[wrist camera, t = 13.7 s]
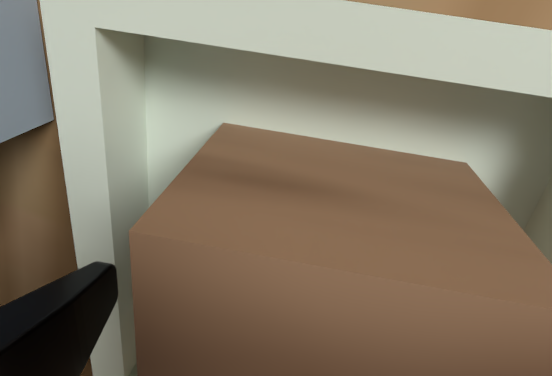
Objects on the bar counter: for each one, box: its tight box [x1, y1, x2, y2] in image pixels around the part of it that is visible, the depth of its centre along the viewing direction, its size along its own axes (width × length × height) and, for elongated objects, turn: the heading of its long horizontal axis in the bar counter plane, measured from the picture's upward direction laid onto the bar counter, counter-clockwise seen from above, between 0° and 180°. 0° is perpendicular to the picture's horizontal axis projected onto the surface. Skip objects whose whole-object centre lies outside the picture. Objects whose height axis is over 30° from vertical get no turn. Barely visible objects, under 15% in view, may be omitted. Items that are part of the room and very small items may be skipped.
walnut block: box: [129, 123, 552, 376], centre depth 8 cm, size 6×6×5 cm
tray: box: [40, 0, 552, 376], centre depth 10 cm, size 12×12×3 cm
